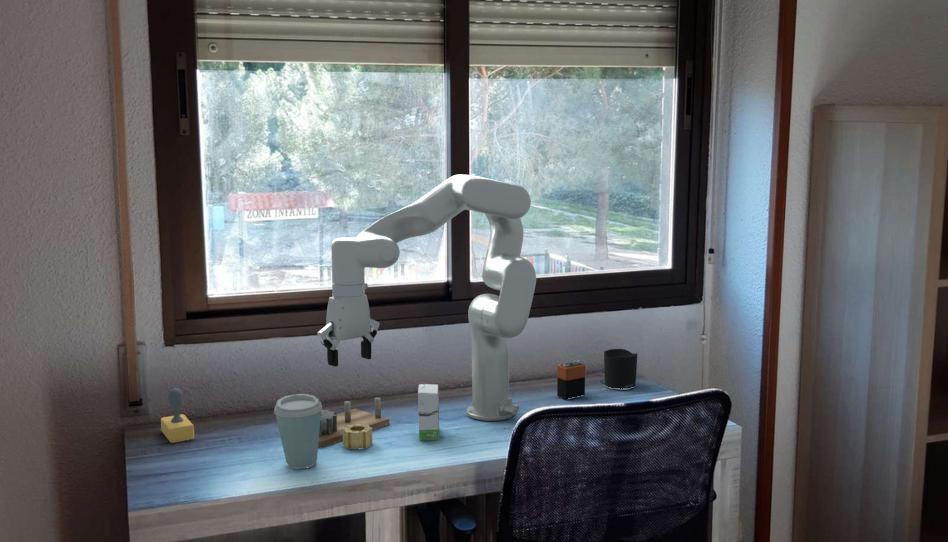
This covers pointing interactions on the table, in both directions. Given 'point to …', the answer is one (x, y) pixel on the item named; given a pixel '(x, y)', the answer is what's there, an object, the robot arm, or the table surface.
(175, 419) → the rubber stamp
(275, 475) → the table surface
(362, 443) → the brass gear
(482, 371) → the robot arm
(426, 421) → the ink box
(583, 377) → the battery
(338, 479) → the table surface
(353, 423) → the gear board
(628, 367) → the pen holder
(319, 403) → the disposable coffee cup
